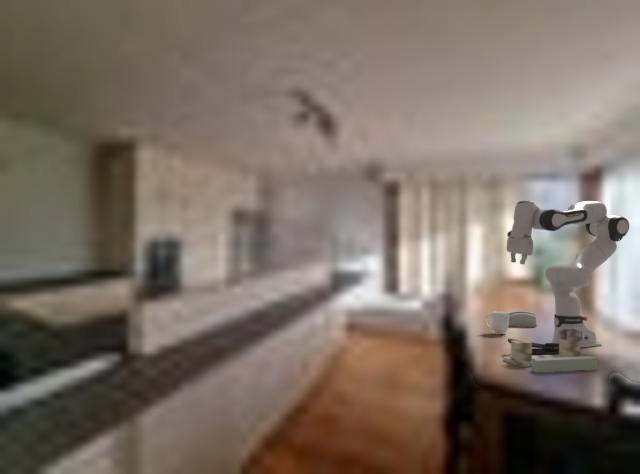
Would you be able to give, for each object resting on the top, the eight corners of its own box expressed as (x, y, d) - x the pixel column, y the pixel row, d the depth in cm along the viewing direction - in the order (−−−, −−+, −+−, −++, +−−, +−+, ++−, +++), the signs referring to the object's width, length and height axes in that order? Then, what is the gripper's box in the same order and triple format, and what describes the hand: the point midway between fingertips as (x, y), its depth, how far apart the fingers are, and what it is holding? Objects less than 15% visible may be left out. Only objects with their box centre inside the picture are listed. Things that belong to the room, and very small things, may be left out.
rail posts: (572, 357, 250) (572, 327, 250) (589, 363, 238) (589, 332, 238) (503, 360, 245) (503, 330, 245) (517, 366, 233) (517, 335, 233)
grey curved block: (535, 325, 333) (536, 310, 329) (536, 329, 328) (538, 314, 325) (505, 324, 336) (506, 309, 333) (506, 328, 332) (507, 313, 328)
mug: (509, 333, 308) (509, 311, 308) (508, 336, 300) (508, 313, 300) (487, 331, 313) (487, 310, 312) (485, 335, 304) (485, 312, 304)
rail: (591, 368, 231) (591, 355, 231) (597, 370, 227) (597, 358, 227) (531, 370, 227) (531, 358, 227) (537, 373, 223) (537, 360, 223)
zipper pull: (506, 337, 261) (563, 339, 258) (506, 352, 261) (563, 353, 258) (509, 341, 252) (569, 343, 249) (509, 356, 252) (569, 358, 249)
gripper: (538, 236, 260) (534, 266, 261) (518, 234, 280) (514, 262, 281) (525, 234, 259) (521, 264, 260) (505, 232, 280) (502, 260, 280)
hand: (517, 263), depth 271 cm, fingers open, 8 cm apart
